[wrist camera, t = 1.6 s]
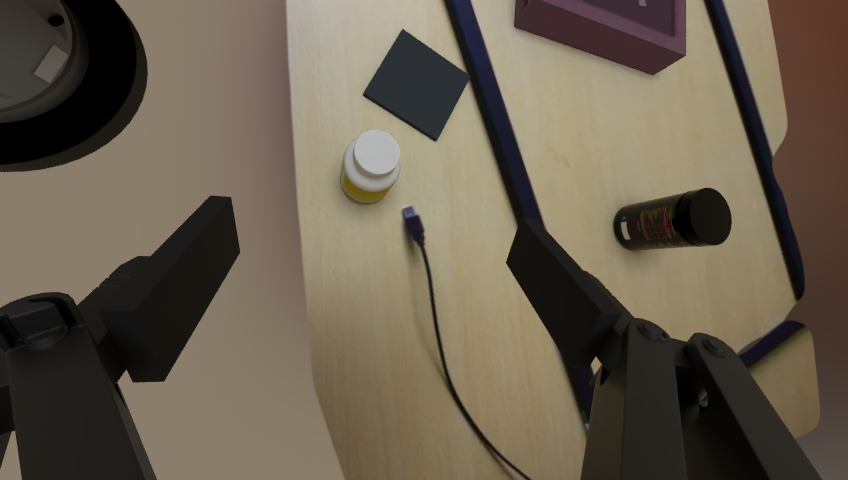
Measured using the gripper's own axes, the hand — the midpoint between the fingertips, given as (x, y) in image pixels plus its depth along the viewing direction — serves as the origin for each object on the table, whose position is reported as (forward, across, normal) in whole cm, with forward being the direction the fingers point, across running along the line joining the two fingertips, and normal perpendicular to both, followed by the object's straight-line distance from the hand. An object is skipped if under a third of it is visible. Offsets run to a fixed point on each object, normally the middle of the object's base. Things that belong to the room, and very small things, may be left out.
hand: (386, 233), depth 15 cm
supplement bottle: (+22, -1, -6) cm, 23 cm away
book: (+43, +31, +17) cm, 56 cm away
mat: (+30, +5, +3) cm, 31 cm away
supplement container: (+23, +38, -10) cm, 45 cm away
